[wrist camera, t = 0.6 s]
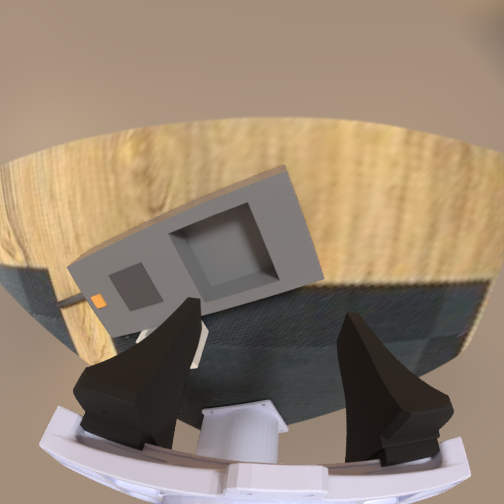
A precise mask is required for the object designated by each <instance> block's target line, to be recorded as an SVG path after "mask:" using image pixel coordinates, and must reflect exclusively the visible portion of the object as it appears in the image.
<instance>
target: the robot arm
mask: <svg viewBox="0 0 504 504" xmlns="http://www.w3.org/2000/svg"><path fill="white" fill-rule="evenodd" d="M201 332H202V319H201V300H200V299H199V298H192V297H188V298H187V299H186V300H185V301H184V302H183V303H182V304H181V305H180V306H179V307H178V308H177V309H176V310H175V311H174V312H173V313H172V314H171V315H170V316H169V317H168V318H167V319H166V320H165V321H164V322H163V323H162V324H161V325H160V326H159V327H158V328H156V329H155V330H154V331H153V332H152V333H151V334H149V335H148V336H147V337H145V338H144V339H143V340H141V341H140V342H139V343H137V344H136V345H134V346H132V347H131V348H129V349H127V350H126V351H124V352H122V353H120V354H118V355H116V356H114V357H112V358H110V359H108V360H106V361H103V362H101V363H98V364H95V365H92V366H90V367H86V368H85V370H84V371H83V373H82V374H81V376H80V378H79V380H78V382H77V383H76V385H75V387H74V389H73V393H74V395H75V397H76V399H77V401H78V402H79V404H80V405H81V406H82V408H83V409H84V411H85V414H84V416H83V417H82V416H81V415H79V414H77V413H76V412H73V411H71V410H68V409H66V408H64V407H62V406H58V407H57V409H56V411H55V413H54V415H53V417H52V419H51V421H50V423H49V425H48V427H47V429H46V431H45V433H44V435H43V437H42V439H41V442H40V443H39V445H40V447H41V448H43V449H44V450H45V451H46V452H47V453H48V454H50V455H51V456H52V457H53V458H55V459H56V460H57V461H58V462H60V463H61V464H62V465H64V466H66V467H68V468H69V469H72V470H73V471H75V472H78V473H80V474H82V475H84V476H86V477H88V478H90V479H92V480H95V481H97V482H99V483H101V484H104V485H106V486H108V487H110V488H113V489H115V490H118V491H120V492H123V493H125V494H128V495H131V496H133V497H136V498H139V499H142V500H145V501H148V502H151V503H154V504H410V503H413V502H417V501H420V500H423V499H426V498H429V497H432V496H435V495H438V494H440V493H443V492H445V491H447V490H449V489H450V488H452V487H454V486H455V485H457V484H459V483H461V482H462V481H464V480H466V479H467V478H469V477H470V476H471V472H470V468H469V465H468V460H467V457H466V453H465V449H464V446H463V443H462V439H461V437H456V438H452V439H448V440H445V441H442V442H440V443H438V441H437V438H439V437H440V434H439V429H440V428H441V427H442V426H444V425H445V423H447V422H448V420H449V419H450V418H451V417H452V415H453V413H454V409H453V407H452V404H451V401H450V398H449V396H448V395H446V394H444V393H442V392H440V391H438V390H437V389H435V388H433V387H431V386H429V385H428V384H427V383H425V382H424V381H422V380H421V379H419V378H418V377H417V376H416V375H414V374H413V373H412V372H410V371H409V370H408V369H407V368H406V367H405V366H404V365H402V364H401V363H400V362H399V361H398V360H397V359H396V358H395V357H394V356H393V355H392V354H391V353H390V351H389V350H388V349H387V348H386V347H385V346H384V345H383V344H382V342H381V341H380V340H379V339H378V338H377V336H376V335H375V334H374V332H373V331H372V330H371V329H370V327H369V326H368V325H367V323H366V322H365V321H364V319H363V318H362V317H361V316H360V314H359V313H351V312H347V314H346V317H345V320H344V323H343V325H342V328H341V331H340V334H339V337H338V339H337V352H338V361H339V367H340V372H341V377H342V382H343V388H344V393H345V400H346V415H347V416H346V418H347V438H346V440H347V441H346V457H345V463H337V464H278V433H282V432H287V431H288V427H287V425H286V424H285V422H284V421H283V419H282V417H281V416H280V414H279V413H278V411H277V410H276V408H275V407H274V405H273V403H272V402H271V401H270V400H263V401H257V402H251V403H245V404H239V405H232V406H224V407H216V408H207V409H202V413H203V415H204V419H203V423H202V428H201V432H200V436H199V440H198V445H197V449H196V455H194V454H189V453H184V452H179V451H175V450H172V443H173V437H174V431H175V425H176V420H177V415H178V410H179V405H180V401H181V396H182V392H183V388H184V385H185V381H186V379H187V376H188V373H189V370H190V368H191V365H192V362H193V359H194V357H195V354H196V351H197V348H198V345H199V341H200V336H201Z"/></svg>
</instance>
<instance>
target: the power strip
mask: <svg viewBox="0 0 504 504" xmlns="http://www.w3.org/2000/svg"><path fill="white" fill-rule="evenodd" d="M67 268H68V270H69V272H70V274H71V275H72V277H73V279H74V281H75V282H76V284H77V286H78V287H79V289H80V291H81V293H79V294H76V295H74V296H71V297H69V298H66V299H64V300H61V301H59V302H58V303H57V307H58V308H63V307H65V306H68V305H70V304H73V303H76V302H78V301H81V300H84V299H86V300H87V302H88V303H89V305H90V306H91V308H92V309H93V311H94V312H95V314H96V315H97V317H98V318H99V320H100V321H101V323H102V324H103V326H104V327H105V329H106V330H107V331H108V333H109V334H110V336H111V337H112V338H114V337H118V336H122V335H127V334H131V333H135V332H140V331H144V330H148V329H150V328H154V327H158V326H160V325H161V324H162V323H163V322H164V321H165V320H166V319H167V318H168V317H169V316H170V315H171V314H172V313H173V312H174V311H175V310H176V309H177V308H178V307H179V306H180V305H181V304H182V303H183V302H184V301H185V300H186V299H187V298H188V297H192V298H199V299H200V300H201V316H203V315H206V314H210V313H214V312H217V311H221V310H224V309H228V308H231V307H235V306H238V305H242V304H245V303H249V302H252V301H256V300H259V299H262V298H266V297H269V296H272V295H276V294H279V293H282V292H285V291H289V290H292V289H295V288H298V287H301V286H305V285H308V284H311V283H314V282H317V281H320V280H323V279H324V276H323V273H322V269H321V266H320V263H319V259H318V256H317V253H316V250H315V247H314V244H313V241H312V238H311V235H310V232H309V230H308V227H307V224H306V221H305V218H304V215H303V212H302V210H301V207H300V204H299V201H298V199H297V196H296V193H295V190H294V188H293V185H292V182H291V180H290V177H289V174H288V172H287V169H286V167H285V165H283V166H280V167H277V168H274V169H272V170H269V171H266V172H264V173H261V174H258V175H256V176H253V177H250V178H248V179H245V180H243V181H240V182H238V183H235V184H232V185H230V186H227V187H225V188H222V189H220V190H218V191H215V192H213V193H210V194H208V195H205V196H203V197H201V198H198V199H196V200H194V201H191V202H189V203H187V204H184V205H182V206H180V207H178V208H175V209H173V210H171V211H169V212H166V213H164V214H162V215H160V216H157V217H155V218H153V219H151V220H149V221H147V222H145V223H142V224H140V225H138V226H136V227H134V228H132V229H130V230H128V231H126V232H124V233H122V234H120V235H117V236H115V237H113V238H111V239H109V240H107V241H105V242H103V243H102V244H100V245H98V246H96V247H94V248H92V249H90V250H88V251H86V252H85V253H84V254H82V255H81V256H80V257H79V258H77V259H76V260H75V261H74V262H72V263H71V264H70V265H69V266H67Z"/></svg>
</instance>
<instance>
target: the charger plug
mask: <svg viewBox="0 0 504 504" xmlns="http://www.w3.org/2000/svg"><path fill="white" fill-rule="evenodd" d="M158 327H159V326H158ZM158 327H154V328H150V329H148V330H144V331H142V332H141V334H140V335H139V337H138V339H137V341H136V342H137V343H139V342H140V341H141V340H143V339H144V338H145V337H147V336H148V335H149V334H151V333H152V332H153V331H154V330H155V329H156V328H158ZM208 332H209V331H208V330H207V328H206V326H205V325H204V323H203V321H202V332H201V336H200V341H199V345H198V348H197V351H196V354H195V357H194V359H193V362H192V365H191V368H190V369H193V368H197V367H198V364H199V361H200V358H201V354H202V351H203V348H204V345H205V341H206V338H207V335H208Z"/></svg>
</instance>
